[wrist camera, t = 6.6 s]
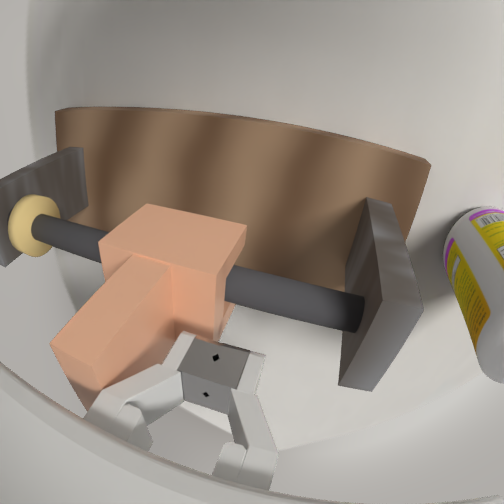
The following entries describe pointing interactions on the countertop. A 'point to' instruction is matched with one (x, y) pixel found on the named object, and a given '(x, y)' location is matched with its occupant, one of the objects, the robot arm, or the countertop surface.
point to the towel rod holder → (251, 203)
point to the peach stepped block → (149, 296)
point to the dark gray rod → (237, 282)
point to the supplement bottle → (480, 282)
